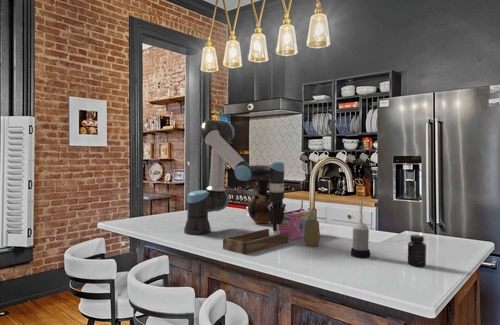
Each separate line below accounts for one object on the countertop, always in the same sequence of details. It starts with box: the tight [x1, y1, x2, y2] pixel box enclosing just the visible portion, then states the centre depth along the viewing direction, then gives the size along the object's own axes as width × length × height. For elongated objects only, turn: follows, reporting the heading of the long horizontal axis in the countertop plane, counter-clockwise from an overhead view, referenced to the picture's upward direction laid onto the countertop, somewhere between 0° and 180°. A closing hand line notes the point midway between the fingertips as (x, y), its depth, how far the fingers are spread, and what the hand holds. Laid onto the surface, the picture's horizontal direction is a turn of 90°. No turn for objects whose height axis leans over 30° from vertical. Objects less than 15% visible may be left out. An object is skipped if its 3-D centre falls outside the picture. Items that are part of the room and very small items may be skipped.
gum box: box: [279, 208, 309, 241], centre depth 202 cm, size 24×8×14 cm, turn 139°
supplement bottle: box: [407, 234, 427, 268], centre depth 150 cm, size 7×7×12 cm
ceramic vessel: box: [247, 179, 271, 224], centre depth 241 cm, size 21×18×30 cm
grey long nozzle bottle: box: [350, 199, 371, 259], centre depth 163 cm, size 8×8×25 cm
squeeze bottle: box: [303, 208, 321, 247], centre depth 181 cm, size 8×8×18 cm
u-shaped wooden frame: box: [222, 228, 290, 255], centre depth 179 cm, size 14×33×5 cm, turn 138°
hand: (276, 236), depth 190 cm, fingers closed
